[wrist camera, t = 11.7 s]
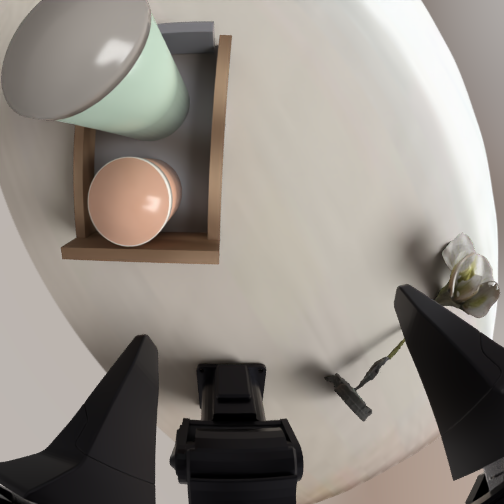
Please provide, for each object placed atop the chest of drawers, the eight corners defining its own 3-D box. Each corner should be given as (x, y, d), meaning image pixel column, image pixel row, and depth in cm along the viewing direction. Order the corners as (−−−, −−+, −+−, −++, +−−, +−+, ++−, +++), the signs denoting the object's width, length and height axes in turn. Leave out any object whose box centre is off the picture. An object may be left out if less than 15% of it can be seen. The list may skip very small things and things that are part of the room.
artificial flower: (303, 356, 28) (327, 405, 18) (443, 222, 28) (502, 216, 18) (347, 404, 28) (378, 455, 18) (472, 278, 28) (527, 286, 18)
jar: (182, 227, 20) (170, 247, 16) (118, 226, 20) (90, 245, 15) (183, 157, 19) (171, 155, 14) (117, 159, 18) (87, 159, 13)
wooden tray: (219, 241, 21) (218, 264, 17) (91, 238, 20) (62, 258, 16) (230, 49, 17) (233, 20, 12) (99, 58, 16) (72, 38, 11)
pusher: (214, 53, 16) (212, 31, 13) (106, 61, 15) (85, 45, 12) (215, 44, 16) (213, 21, 12) (107, 52, 15) (88, 35, 11)
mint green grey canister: (204, 115, 18) (176, 39, 6) (138, 156, 18) (25, 155, 6) (169, 58, 16) (114, -49, 4) (106, 99, 17) (-8, 48, 4)
